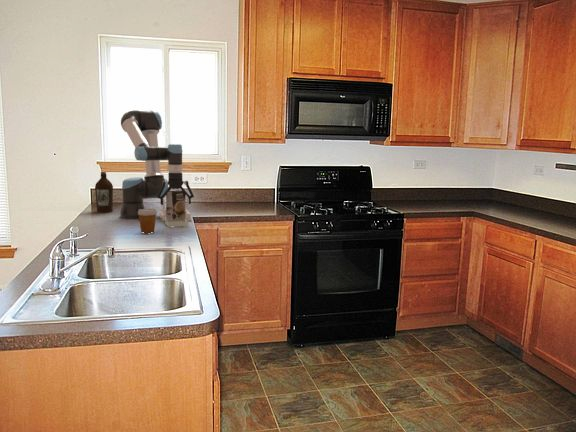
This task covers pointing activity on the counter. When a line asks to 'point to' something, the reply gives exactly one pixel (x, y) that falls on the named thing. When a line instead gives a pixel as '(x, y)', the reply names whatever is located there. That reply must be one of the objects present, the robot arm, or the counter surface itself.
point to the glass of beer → (147, 220)
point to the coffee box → (175, 205)
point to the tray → (176, 222)
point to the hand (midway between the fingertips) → (175, 210)
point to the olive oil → (104, 194)
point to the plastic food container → (163, 215)
